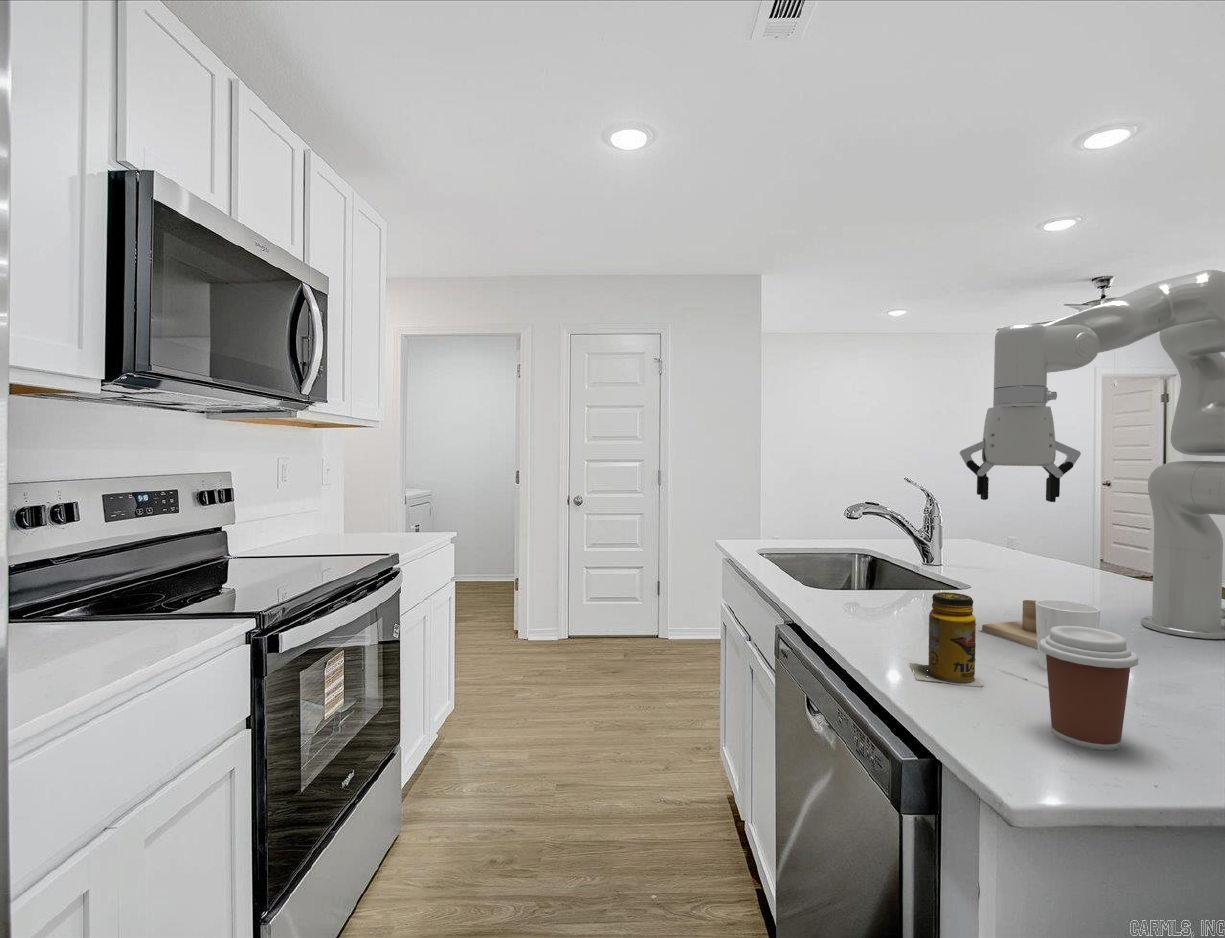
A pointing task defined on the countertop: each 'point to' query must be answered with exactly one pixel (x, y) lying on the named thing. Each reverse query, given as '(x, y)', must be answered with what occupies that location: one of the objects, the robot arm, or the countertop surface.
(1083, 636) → the coffee cup
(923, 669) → the condiment
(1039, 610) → the white cup
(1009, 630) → the lid
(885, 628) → the countertop surface
